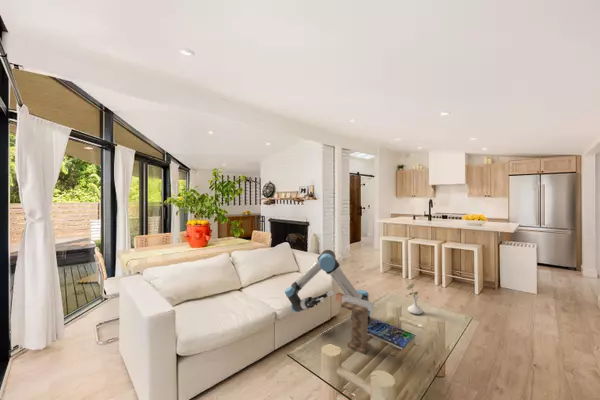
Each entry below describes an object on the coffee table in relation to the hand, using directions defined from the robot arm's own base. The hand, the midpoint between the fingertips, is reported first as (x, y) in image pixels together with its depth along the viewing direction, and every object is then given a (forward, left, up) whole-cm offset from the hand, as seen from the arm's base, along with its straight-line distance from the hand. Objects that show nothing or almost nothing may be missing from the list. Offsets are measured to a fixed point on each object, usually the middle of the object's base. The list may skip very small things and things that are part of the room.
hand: (329, 295), depth 189 cm
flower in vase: (-23, +78, -29) cm, 86 cm away
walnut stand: (+13, +15, -29) cm, 35 cm away
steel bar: (+13, +14, -1) cm, 19 cm away
